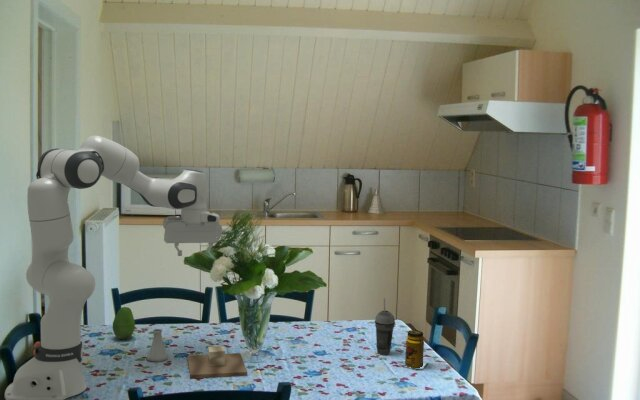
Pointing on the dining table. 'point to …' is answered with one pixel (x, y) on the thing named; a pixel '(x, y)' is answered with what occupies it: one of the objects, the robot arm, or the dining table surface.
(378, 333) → the beverage cup
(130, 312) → the avocado
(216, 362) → the birch cube
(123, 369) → the dining table surface
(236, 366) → the walnut board
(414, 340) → the condiment
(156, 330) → the flask
